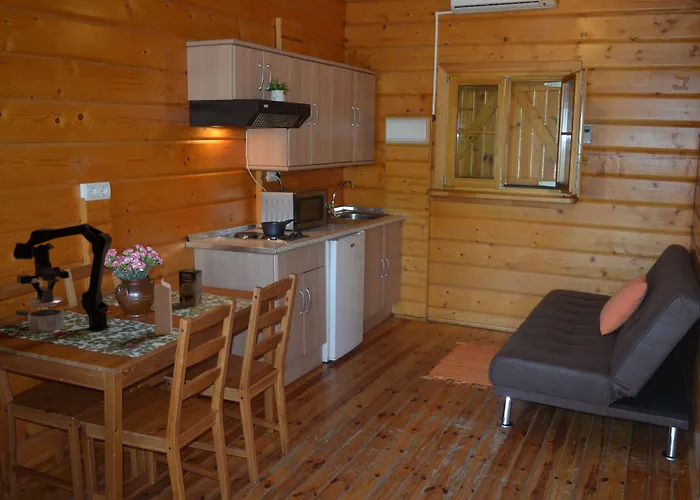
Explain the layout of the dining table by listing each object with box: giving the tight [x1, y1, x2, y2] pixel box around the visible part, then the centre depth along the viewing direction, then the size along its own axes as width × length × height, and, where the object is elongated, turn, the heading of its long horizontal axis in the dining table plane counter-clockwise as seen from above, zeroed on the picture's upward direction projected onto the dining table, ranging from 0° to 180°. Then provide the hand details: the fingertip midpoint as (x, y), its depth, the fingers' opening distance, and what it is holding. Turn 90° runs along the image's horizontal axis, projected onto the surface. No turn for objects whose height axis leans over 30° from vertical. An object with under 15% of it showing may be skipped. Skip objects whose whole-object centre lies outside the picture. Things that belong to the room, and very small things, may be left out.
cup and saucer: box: [26, 285, 63, 309], centre depth 275 cm, size 13×13×7 cm
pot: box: [15, 308, 65, 333], centre depth 278 cm, size 21×13×6 cm, turn 71°
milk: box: [153, 277, 173, 336], centre depth 270 cm, size 6×6×22 cm
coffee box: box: [178, 268, 203, 307], centre depth 317 cm, size 9×6×16 cm
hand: (44, 297), depth 276 cm, fingers closed on cup and saucer, 3 cm apart
